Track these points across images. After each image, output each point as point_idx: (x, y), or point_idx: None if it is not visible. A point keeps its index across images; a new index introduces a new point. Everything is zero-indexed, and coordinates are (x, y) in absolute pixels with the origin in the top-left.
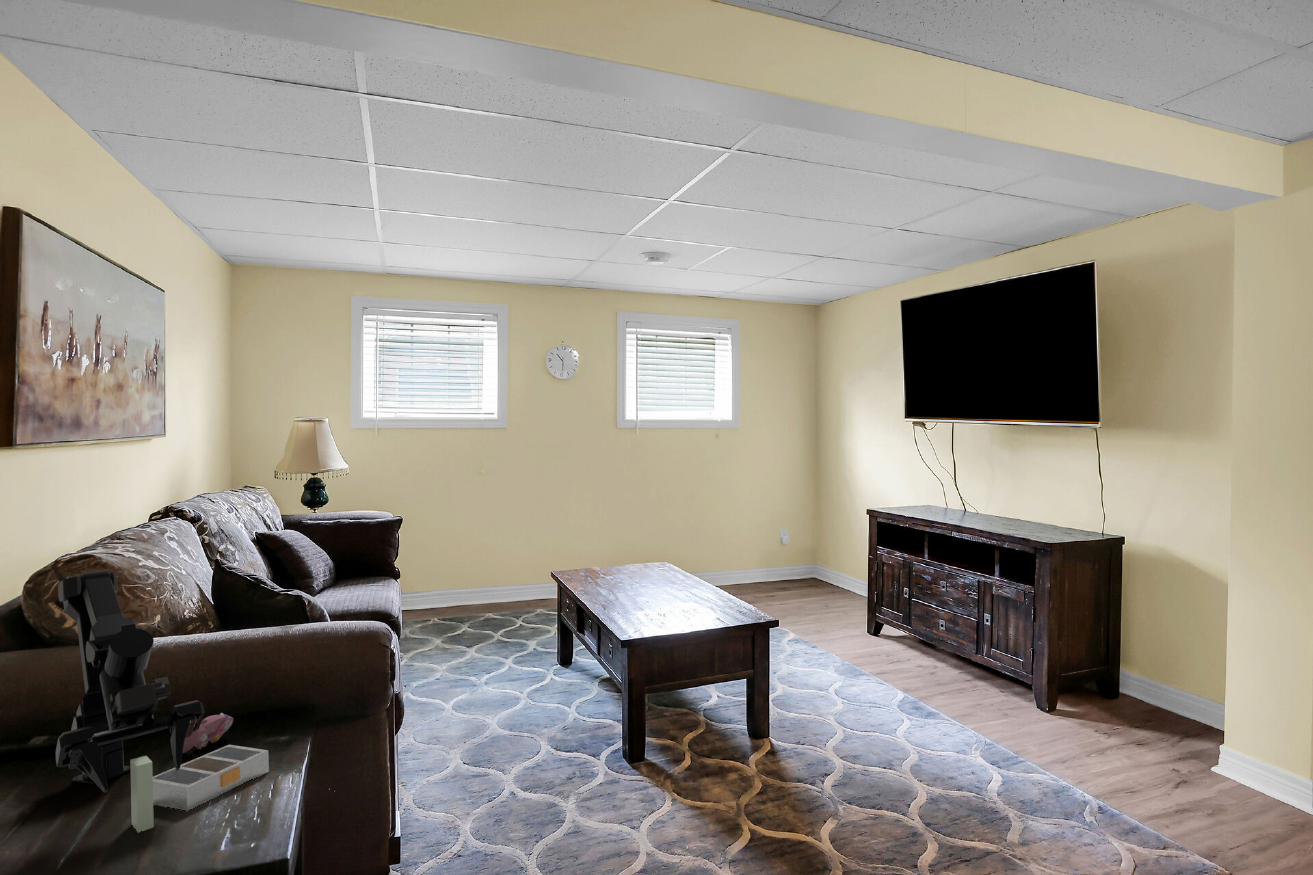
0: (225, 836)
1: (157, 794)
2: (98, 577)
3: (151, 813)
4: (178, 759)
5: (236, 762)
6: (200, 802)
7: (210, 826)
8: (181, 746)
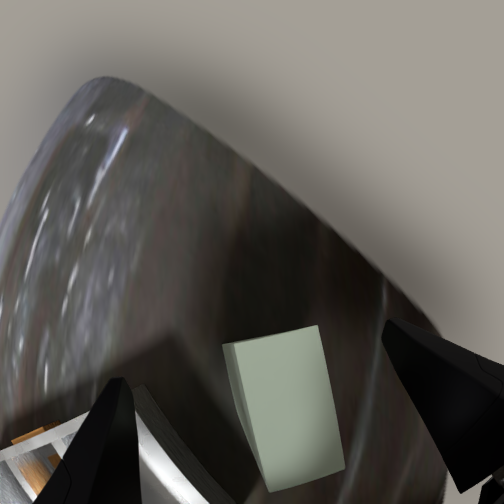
0: (105, 172)
1: (213, 490)
2: None
3: (227, 343)
4: (107, 402)
5: (15, 464)
6: None
7: (111, 241)
8: (73, 453)
